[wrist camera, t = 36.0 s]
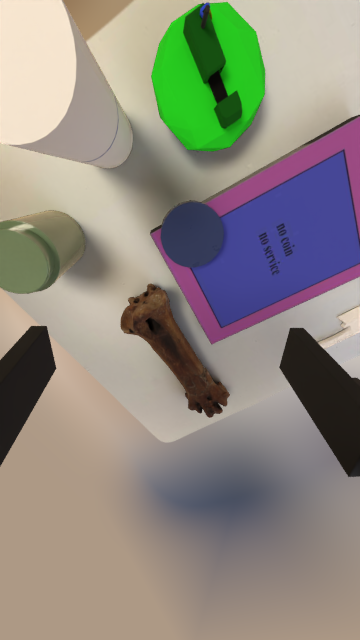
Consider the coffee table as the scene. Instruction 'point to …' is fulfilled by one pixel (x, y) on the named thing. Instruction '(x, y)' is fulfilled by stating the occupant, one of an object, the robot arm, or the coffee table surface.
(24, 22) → the cylindrical container
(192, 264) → the jar lid
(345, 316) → the butcher knife
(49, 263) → the jar
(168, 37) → the green rounded piece
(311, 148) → the book
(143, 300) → the bone
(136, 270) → the coffee table surface
